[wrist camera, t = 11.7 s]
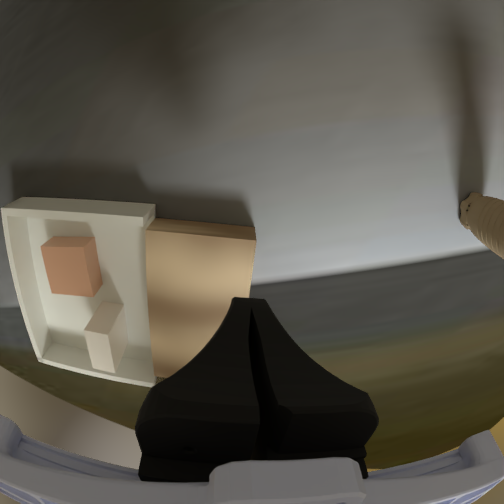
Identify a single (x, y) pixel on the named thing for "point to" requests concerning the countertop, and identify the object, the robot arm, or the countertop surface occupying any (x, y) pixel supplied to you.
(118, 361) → the cream tile
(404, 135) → the countertop surface
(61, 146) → the countertop surface
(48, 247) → the terracotta tile
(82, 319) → the tray
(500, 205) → the handle
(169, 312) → the oak board
